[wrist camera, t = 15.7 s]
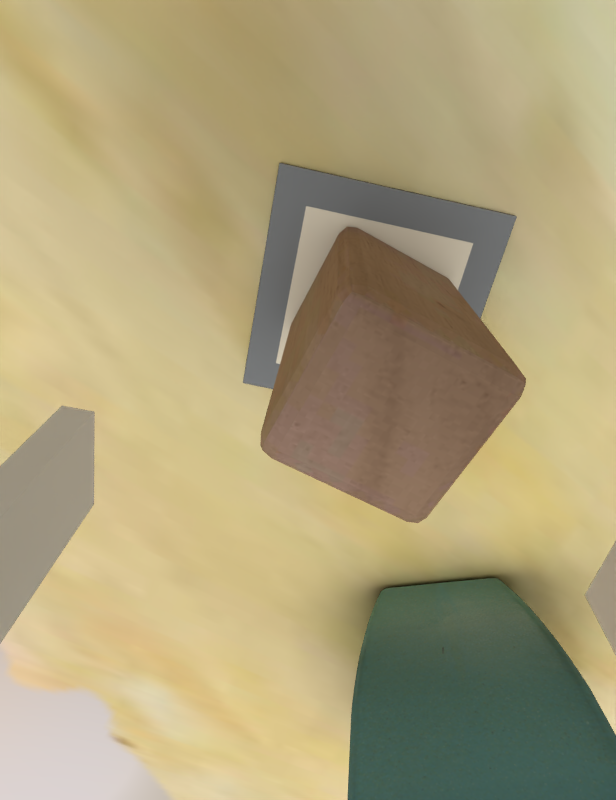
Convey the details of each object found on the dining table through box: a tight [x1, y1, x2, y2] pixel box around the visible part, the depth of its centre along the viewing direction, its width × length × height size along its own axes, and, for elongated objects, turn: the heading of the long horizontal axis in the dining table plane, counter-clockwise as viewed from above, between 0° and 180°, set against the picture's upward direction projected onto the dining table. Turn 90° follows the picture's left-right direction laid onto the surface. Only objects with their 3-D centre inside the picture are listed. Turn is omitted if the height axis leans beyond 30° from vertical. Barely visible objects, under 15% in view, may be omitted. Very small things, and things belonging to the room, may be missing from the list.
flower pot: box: [348, 578, 616, 800], centre depth 47 cm, size 20×20×28 cm
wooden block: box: [261, 227, 526, 523], centre depth 35 cm, size 10×10×20 cm
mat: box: [243, 163, 517, 389], centre depth 44 cm, size 18×18×1 cm
